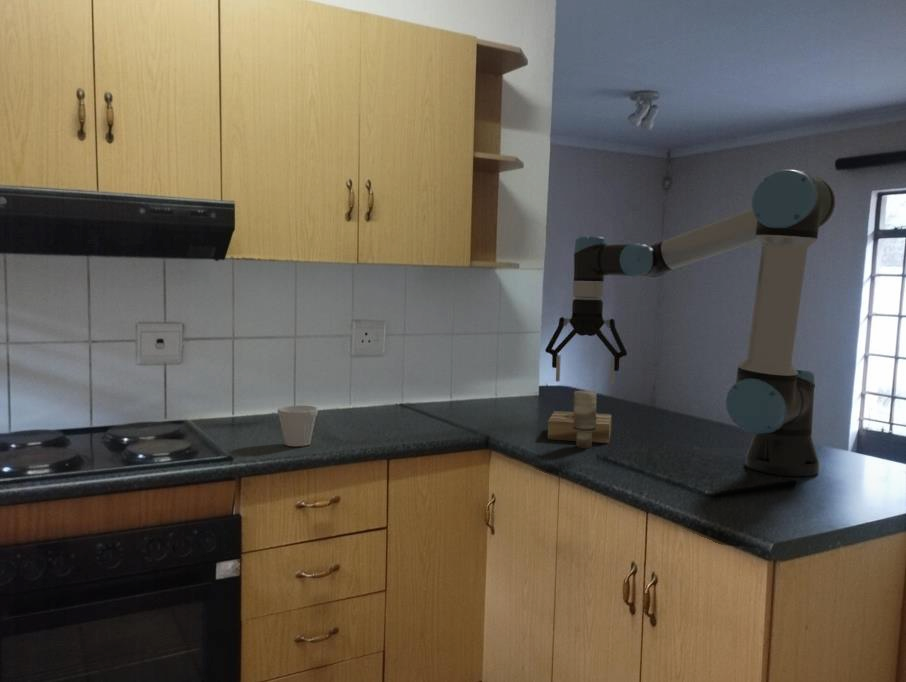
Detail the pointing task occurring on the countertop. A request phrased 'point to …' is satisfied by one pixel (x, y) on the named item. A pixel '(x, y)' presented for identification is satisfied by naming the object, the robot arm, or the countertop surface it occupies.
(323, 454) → the countertop surface
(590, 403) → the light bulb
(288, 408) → the cup
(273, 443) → the countertop surface
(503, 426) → the countertop surface
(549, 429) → the block
